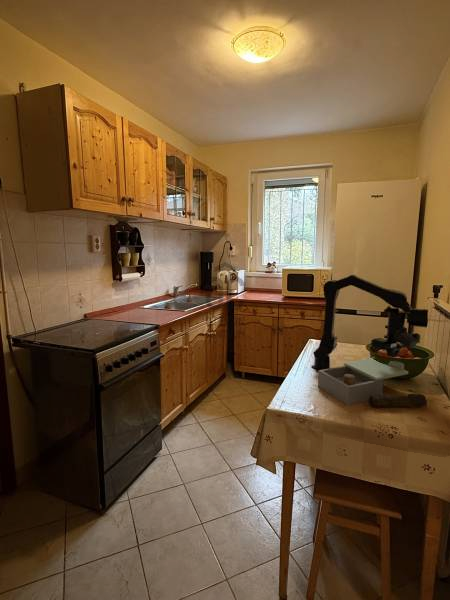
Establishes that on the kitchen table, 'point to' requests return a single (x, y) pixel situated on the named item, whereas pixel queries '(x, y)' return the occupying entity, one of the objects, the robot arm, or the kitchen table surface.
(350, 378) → the peg
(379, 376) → the lid
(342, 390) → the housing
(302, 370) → the kitchen table surface
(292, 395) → the kitchen table surface
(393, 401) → the dark brown rough bar
